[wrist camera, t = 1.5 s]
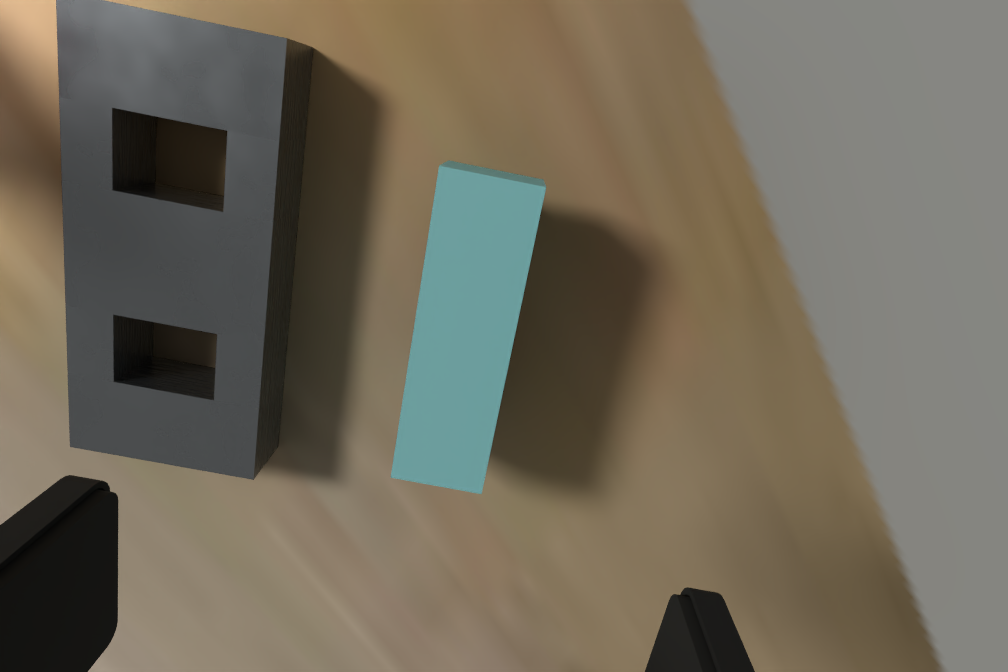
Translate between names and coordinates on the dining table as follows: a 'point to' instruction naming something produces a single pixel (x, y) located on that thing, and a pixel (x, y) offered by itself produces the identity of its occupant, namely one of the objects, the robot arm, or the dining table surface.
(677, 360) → the dining table surface
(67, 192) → the rail
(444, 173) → the clip
